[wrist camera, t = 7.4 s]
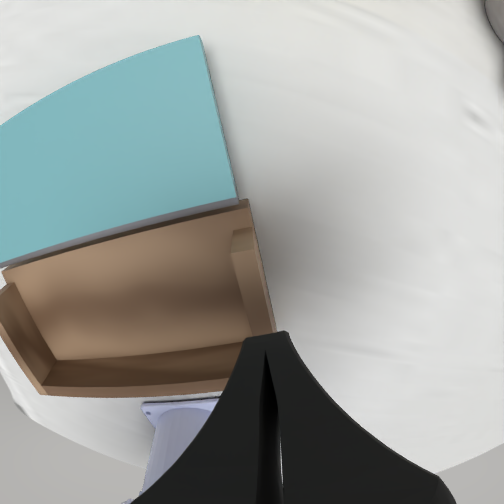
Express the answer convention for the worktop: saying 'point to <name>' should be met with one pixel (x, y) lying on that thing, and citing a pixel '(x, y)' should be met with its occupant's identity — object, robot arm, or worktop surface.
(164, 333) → the wooden box
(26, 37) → the worktop surface
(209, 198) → the teal box lid
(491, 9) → the mug
